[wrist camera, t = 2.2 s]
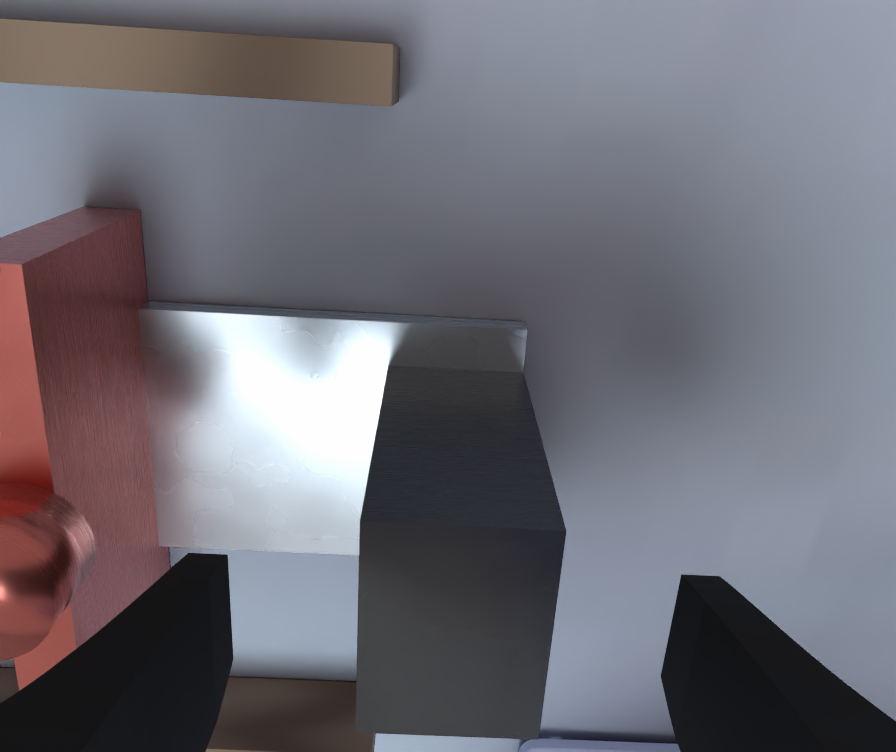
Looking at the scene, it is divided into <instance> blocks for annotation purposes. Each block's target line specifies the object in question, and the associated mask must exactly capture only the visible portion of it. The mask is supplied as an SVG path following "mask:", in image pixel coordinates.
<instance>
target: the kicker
mask: <svg viewBox="0 0 896 752" xmlns="http://www.w3.org/2000/svg"><path fill="white" fill-rule="evenodd" d="M526 339H527V327H526V324H525V322H524V321H506V320H487V319H469V318H451V317H432V316H414V315H395V314H377V313H359V312H340V311H322V310H303V309H285V308H267V307H248V306H230V305H211V304H193V303H175V302H156V301H148V298H147V286H146V275H145V263H144V251H143V239H142V227H141V215H140V210H128V209H111V208H93V207H81V208H79V209H76V210H73V211H71V212H68V213H65V214H63V215H60V216H57V217H55V218H52V219H49V220H47V221H44V222H41V223H39V224H36V225H33V226H31V227H28V228H25V229H23V230H20V231H17V232H15V233H12V234H9V235H7V236H4V237H1V238H0V660H8V659H12V658H14V664H15V669H16V675H17V680H18V686H19V691H20V690H21V689H23V688H24V687H26V686H27V685H28V684H30V683H31V682H33V681H34V680H36V679H37V678H38V677H40V676H41V675H43V674H44V673H45V672H47V671H48V670H49V669H51V668H52V667H53V666H54V665H56V664H57V663H58V662H60V661H61V660H62V659H64V658H65V657H66V656H67V655H69V654H70V653H71V652H73V651H74V650H75V649H76V648H78V647H79V646H80V645H82V644H83V643H84V642H86V641H87V640H88V639H89V638H91V637H92V636H93V635H94V634H96V633H97V632H98V631H99V630H100V629H101V628H103V627H104V626H105V625H106V624H107V623H109V622H110V621H111V620H112V619H113V618H114V617H116V616H117V615H118V614H119V613H120V612H122V611H123V610H124V609H125V608H126V607H127V606H129V605H130V604H131V603H132V602H133V601H134V600H135V599H137V598H138V597H139V596H140V595H141V594H142V593H143V592H145V591H146V590H147V589H148V588H149V587H150V586H151V585H152V584H154V583H155V582H156V581H157V580H158V579H159V578H160V577H161V576H163V575H164V574H165V573H166V572H167V571H168V570H169V569H170V559H169V547H184V548H206V549H228V550H250V551H272V552H294V553H316V554H338V555H359V588H358V636H357V685H356V732H357V733H383V734H409V735H434V736H460V737H486V738H512V739H537V740H538V739H539V731H540V724H541V716H542V709H543V701H544V694H545V686H546V679H547V671H548V664H549V656H550V649H551V641H552V634H553V626H554V619H555V611H556V604H557V596H558V589H559V581H560V574H561V566H562V559H563V551H564V544H565V536H566V528H565V525H564V521H563V517H562V514H561V510H560V506H559V503H558V499H557V495H556V492H555V488H554V484H553V480H552V477H551V473H550V469H549V466H548V462H547V458H546V455H545V451H544V447H543V444H542V440H541V436H540V433H539V429H538V425H537V422H536V418H535V414H534V411H533V407H532V403H531V400H530V396H529V392H528V389H527V385H526V381H525V378H524V374H523V369H524V359H525V349H526Z"/></svg>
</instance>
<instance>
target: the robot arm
mask: <svg viewBox="0 0 896 752" xmlns="http://www.w3.org/2000/svg"><path fill="white" fill-rule="evenodd" d="M232 661H233V647H232V629H231V610H230V592H229V573H228V555H221V554H198V553H188V554H187V555H186V556H185V557H183V558H182V559H181V560H180V561H179V562H178V563H176V564H175V565H174V566H173V567H172V568H170V569H169V570H168V571H167V572H166V573H165V574H164V575H163V576H161V577H160V578H159V579H158V580H157V581H156V582H155V583H154V584H152V585H151V586H150V587H149V588H148V589H147V590H146V591H145V592H143V593H142V594H141V595H140V596H139V597H138V598H137V599H135V600H134V601H133V602H132V603H131V604H130V605H129V606H127V607H126V608H125V609H124V610H123V611H122V612H120V613H119V614H118V615H117V616H116V617H114V618H113V619H112V620H111V621H110V622H109V623H107V624H106V625H105V626H104V627H103V628H101V629H100V630H99V631H98V632H97V633H96V634H94V635H93V636H92V637H91V638H89V639H88V640H87V641H86V642H84V643H83V644H82V645H80V646H79V647H78V648H76V649H75V650H74V651H73V652H71V653H70V654H69V655H67V656H66V657H65V658H64V659H62V660H61V661H60V662H58V663H57V664H56V665H54V666H53V667H52V668H51V669H49V670H48V671H47V672H45V673H44V674H43V675H41V676H40V677H38V678H37V679H36V680H34V681H33V682H31V683H30V684H28V685H27V686H26V687H24V688H23V689H21V690H20V691H18V692H17V693H15V694H14V695H12V696H11V697H9V698H8V699H6V700H5V701H3V702H2V703H0V752H206V749H207V746H208V744H209V741H210V739H211V736H212V733H213V731H214V728H215V725H216V723H217V720H218V716H219V713H220V709H221V705H222V701H223V698H224V694H225V690H226V686H227V682H228V678H229V674H230V670H231V666H232ZM661 679H662V683H663V688H664V692H665V697H666V701H667V706H668V710H669V714H670V718H671V722H672V726H673V730H674V734H675V738H676V740H677V743H678V744H667V743H641V742H616V741H590V740H564V739H538V740H537V739H531V740H529V741H526V742H525V743H524V744H523V745H522V746H521V747H520V750H519V752H896V721H894V720H893V719H892V718H890V717H889V716H888V715H886V714H885V713H883V712H882V711H881V710H879V709H878V708H877V707H876V706H874V705H873V704H872V703H870V702H869V701H868V700H866V699H865V698H864V697H863V696H861V695H860V694H859V693H857V692H856V691H855V690H853V689H852V688H851V687H850V686H848V685H847V684H846V683H844V682H843V681H842V680H841V679H839V678H838V677H837V676H836V675H834V674H833V673H832V672H831V671H830V670H828V669H827V668H826V667H825V666H823V665H822V664H821V663H820V662H819V661H817V660H816V659H815V658H814V657H813V656H811V655H810V654H809V653H808V652H807V651H806V650H804V649H803V648H802V647H801V646H800V645H798V644H797V643H796V642H795V641H794V640H793V639H792V638H790V637H789V636H788V635H787V634H786V633H785V632H783V631H782V630H781V629H780V628H779V627H778V626H777V625H775V624H774V623H773V622H772V621H771V620H770V619H769V618H768V617H766V616H765V615H764V614H763V613H762V612H761V611H760V610H758V609H757V608H756V607H755V606H754V605H753V604H752V603H750V602H749V601H748V600H747V599H746V598H745V597H744V596H742V595H741V594H740V593H739V592H738V591H737V590H736V589H734V588H733V587H732V586H731V585H730V584H728V583H727V582H726V581H725V580H723V579H722V578H721V577H719V576H700V575H681V580H680V584H679V589H678V594H677V599H676V604H675V609H674V614H673V619H672V624H671V629H670V634H669V639H668V643H667V648H666V653H665V658H664V663H663V668H662V673H661Z"/></svg>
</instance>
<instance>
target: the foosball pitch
mask: <svg viewBox="0 0 896 752" xmlns="http://www.w3.org/2000/svg"><path fill="white" fill-rule="evenodd" d="M399 72H400V48H399V47H398V46H396V45H394V44H387V43H371V42H356V41H340V40H324V39H309V38H293V37H278V36H262V35H247V34H231V33H216V32H200V31H185V30H169V29H154V28H138V27H123V26H107V25H92V24H76V23H60V22H45V21H29V20H14V19H0V82H8V83H24V84H40V85H56V86H72V87H88V88H104V89H120V90H137V91H153V92H169V93H185V94H201V95H217V96H233V97H249V98H265V99H282V100H298V101H314V102H330V103H346V104H362V105H378V106H393V105H394V104H396V103H397V102H398V101H399ZM356 685H357V682H340V681H315V680H291V679H266V678H241V677H229V678H228V682H227V686H226V690H225V694H224V698H223V701H222V705H221V709H220V713H219V716H218V720H217V723H216V725H215V728H214V731H213V733H212V736H211V739H210V741H209V744H208V746H207V749H206V752H374V745H375V735H376V733H357V732H356ZM18 691H19V686H18V680H17V675H16V669H15V668H0V703H2V702H3V701H5V700H6V699H8V698H9V697H11V696H12V695H14V694H15V693H17V692H18Z"/></svg>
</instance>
